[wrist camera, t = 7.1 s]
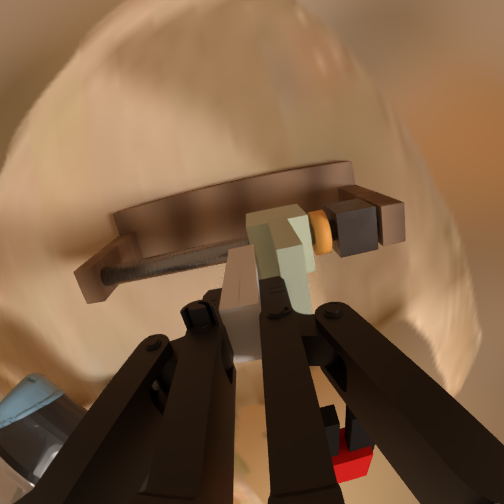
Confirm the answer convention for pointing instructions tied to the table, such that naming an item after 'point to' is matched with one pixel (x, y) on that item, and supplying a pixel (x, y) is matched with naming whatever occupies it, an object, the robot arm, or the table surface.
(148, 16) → the table surface
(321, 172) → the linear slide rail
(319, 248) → the stop band
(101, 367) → the table surface
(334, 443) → the red-and-black block model
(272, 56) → the table surface
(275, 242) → the cream t-shaped block
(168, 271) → the rod
